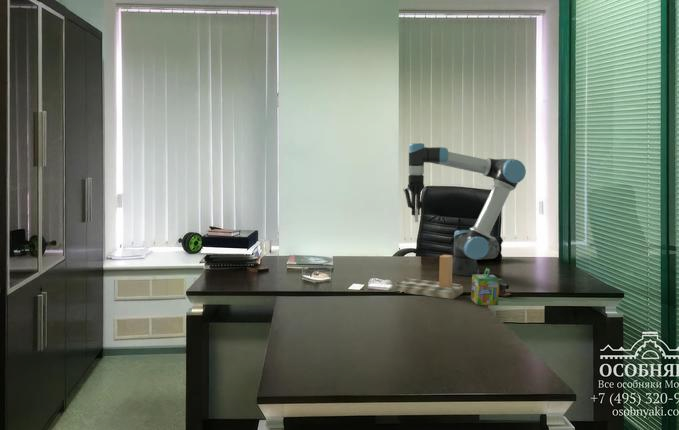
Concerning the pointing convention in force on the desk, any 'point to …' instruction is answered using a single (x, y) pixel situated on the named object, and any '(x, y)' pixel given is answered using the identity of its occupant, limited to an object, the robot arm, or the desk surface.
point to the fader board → (428, 288)
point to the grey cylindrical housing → (493, 250)
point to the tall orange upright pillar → (445, 271)
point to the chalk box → (485, 289)
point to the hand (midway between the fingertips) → (415, 221)
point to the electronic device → (503, 289)
